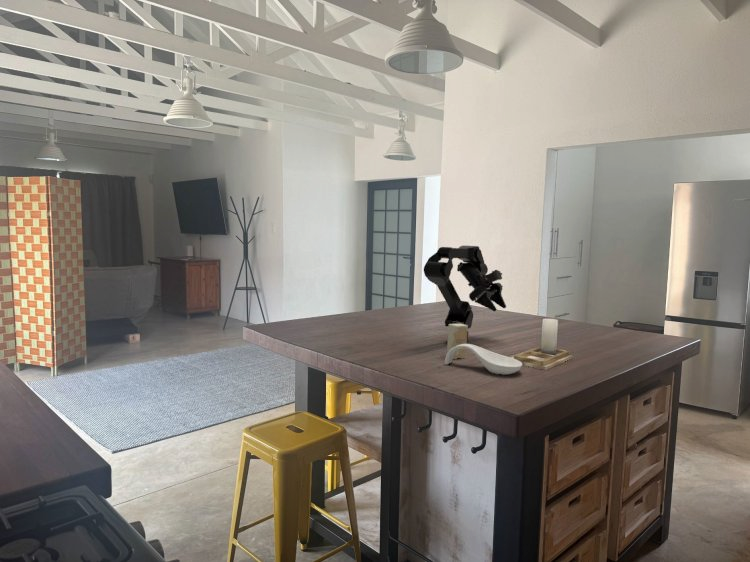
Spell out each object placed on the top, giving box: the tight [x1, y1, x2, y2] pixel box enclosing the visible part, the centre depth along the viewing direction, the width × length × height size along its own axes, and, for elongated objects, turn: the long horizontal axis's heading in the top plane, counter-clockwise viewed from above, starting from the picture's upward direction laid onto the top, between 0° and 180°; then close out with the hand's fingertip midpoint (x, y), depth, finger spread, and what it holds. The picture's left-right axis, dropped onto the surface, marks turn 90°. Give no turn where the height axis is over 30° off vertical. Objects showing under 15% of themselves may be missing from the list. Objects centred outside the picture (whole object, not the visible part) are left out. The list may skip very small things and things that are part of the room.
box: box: [446, 322, 469, 360], centre depth 175 cm, size 5×4×11 cm
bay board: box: [509, 346, 573, 371], centre depth 175 cm, size 14×21×2 cm, turn 138°
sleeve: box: [540, 318, 559, 355], centre depth 177 cm, size 5×5×12 cm
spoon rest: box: [443, 343, 523, 376], centre depth 162 cm, size 24×12×7 cm, turn 60°
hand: (500, 309), depth 194 cm, fingers open, 9 cm apart
